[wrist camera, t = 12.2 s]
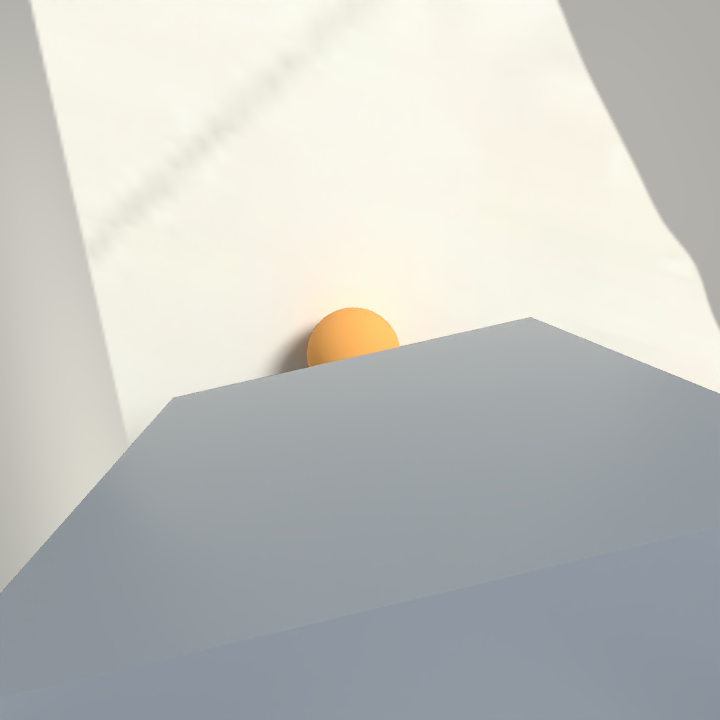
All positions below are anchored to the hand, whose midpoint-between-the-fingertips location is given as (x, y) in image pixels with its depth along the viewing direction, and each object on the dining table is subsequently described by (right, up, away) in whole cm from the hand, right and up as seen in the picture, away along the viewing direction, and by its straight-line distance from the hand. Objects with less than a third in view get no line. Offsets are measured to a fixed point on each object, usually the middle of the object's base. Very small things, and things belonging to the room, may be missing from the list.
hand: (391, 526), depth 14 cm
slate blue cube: (0, 0, +1) cm, 1 cm away
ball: (-1, +5, +11) cm, 12 cm away
